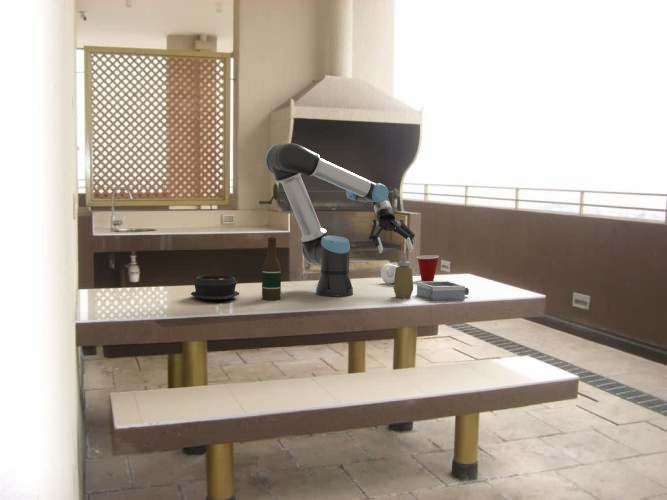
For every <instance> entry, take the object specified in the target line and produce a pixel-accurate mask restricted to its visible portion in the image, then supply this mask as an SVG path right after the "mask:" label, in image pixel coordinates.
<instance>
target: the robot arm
mask: <svg viewBox="0 0 667 500" xmlns="http://www.w3.org/2000/svg"><path fill="white" fill-rule="evenodd" d="M264 164H265V166H266V168H267V169H268V171H270V173H273V176H274V179H275V180H276V182H278V183H280V184H281V186H282V187H283V190H284V192H285V195H286V197H287V200H288V202H289V205H290V207H291V210H292V212H293V215H294V217H295V219H296V222H297V225H298V227H299V230H300V232H301V235H302V236H301V238H300V241H301V243H302V246H301V252H302V256H303V258H304V259H305V260H306V261H307V262H309V263H310V264H313V265H315V266H320V275H319V279H318V282H317V285H316V289H315V293H316V295H318V296H319V295H320V296H325V297H346V296H347V297H348V296H351V295H353V294H354V288H353V285H352V280H351V278H350V253H351V251H350V250H351V245H350V240H349V239H348V238H347V237H343V236H338V235H329V233H328V231H327V229H326V228H323V226H321V223H320V221H319V218H318V216H317V213H316V211H315V208H314V206H313V203H312V201H311V197H310V195H309V193H308V190H307V188H306V185H305V183H304V181H303V178H302V175H304V176H307V177H311V176H314V177H315V178H317V179H321V180H322V181H325V182H327V183H329V184H332V185H334V186H336V187H338V188H340V189H343V190H345V195H346V198H347V199H349V200H352V201H355V202H356V201H357V202H361V203H366V204H370V205H372V208H373V210H374V213H375V217H376V219H373V220H372V222H371V231H370V232H369V236H368V240H370V241H371V240H372V242H373V243H374V246H375V247H377V249H378V252H379V254H382V253H383V250H384V247H383V244H382V241H381V237H380V236H381V234H382V233H383V232H384V231H385V232H389V231H390V232H394V233H397V234H398V235H400V236H401V237H402V238H403V239H405V243H406V244H407V245H406V246H407V249H408V251H409V253H410V254H413V253H412V252H413V251H414V246H413V245H414V241H413V240H414V238H415V236H416V234H415V233H414V232H413V231H412V230H411V229H410V228H409V226H407V225H406V224H405V222H404V220H403V219H400V220H399V221H398V220H396V217H395V213H394V210H393V207H392V205H391V201H390V199H389V194H390V193H389V189H388V187H387V186H386V185H385V184H383V183H380V182H377V183H375V182H374V181H372V180H369V179H367V178H365V177H363V176H360V175H358V174H356V173H355V172H351V171H350V170H348V169H345V168H343V167H340V166H339V165H337V164H334V163H332V162H330V161H327V160H325V159H324V158H321V157H320V154H319V153H316V152H314V151H312V150H311V149H309V148H306V147H305V146H303V145H300V144H298V143H293V142H289V143H278V144H275V145H273V146H271V147H270V148H268V150H267V151H266V154H265V156H264ZM377 226H378V227H379V229H378V231H377V232H376V234H374V233H375V230H376V227H377Z"/></svg>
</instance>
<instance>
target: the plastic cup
mask: <svg viewBox="0 0 667 500" xmlns="http://www.w3.org/2000/svg"><path fill="white" fill-rule="evenodd" d="M439 258H440V255H438V254H437V255H436V254H433V255H432V254H426V255H418V256H416V259H417V262H418V267H419V268H418V269H419V273H420V279H421V282H429V281H434V280H435V275H436V271H437V265H438V263H439Z"/></svg>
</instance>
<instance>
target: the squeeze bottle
mask: <svg viewBox="0 0 667 500" xmlns="http://www.w3.org/2000/svg"><path fill="white" fill-rule="evenodd" d="M400 259H401V260H400V261H398V262H397V266H399V267H397V268H396V271H395V279H394V283H393V292H394V295H395V297H396V298H400V299H410V298H411V297H412V294H413V291H414V279H413V268H412V267H410V266H411V262H410V261H408V257H407V253H406V252H402V255H401V258H400Z"/></svg>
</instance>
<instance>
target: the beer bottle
mask: <svg viewBox="0 0 667 500" xmlns="http://www.w3.org/2000/svg"><path fill="white" fill-rule="evenodd" d="M266 241H267V251H266V252H267V255H266V258H265V259H264V261H263V262H262V263H263V264H262V269H261V273H262V275H261V279H262V280H261V299H262V300H263V301H279V300H281V296H282V295H281V294H282V291H281V290H282V282H281V281H282V267H281V266H282V265H281V263H280V261H279V259H278V255H277V237H275V236H269V237H267V240H266Z"/></svg>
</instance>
